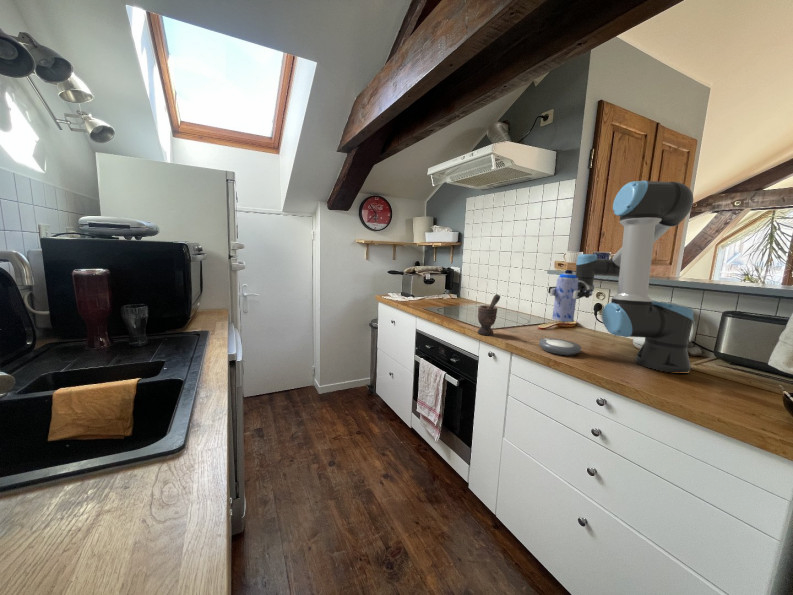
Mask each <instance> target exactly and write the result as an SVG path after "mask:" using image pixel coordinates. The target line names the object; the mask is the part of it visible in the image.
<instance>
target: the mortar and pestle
mask: <svg viewBox="0 0 793 595" xmlns="http://www.w3.org/2000/svg"><path fill="white" fill-rule="evenodd" d="M500 299H501V295H499V294H495V295H494V296H493V297H492V299H491V302H490V304H488V305H486V304H485V305H484V304H483V305H479V306H478V308H477V320H478V323H479V325H480V326H481V327H480V328H478V330H477V332H476V333H477V334H479V335H482V336H494V331H493V329H492V328H491V327H492V326H493V325H495V322H496V320H497V315H498V314H497V313H498V307H496V305H497V304H498V303H499V301H500Z"/></svg>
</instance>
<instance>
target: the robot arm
mask: <svg viewBox="0 0 793 595" xmlns="http://www.w3.org/2000/svg"><path fill="white" fill-rule="evenodd" d="M693 204H694V194H693V192H692V190H691V188H689V186H687V185H686V184H684V183H682V182H678V181H657V180H656V181H655V180H636V181H635V180H634V181H629V182H628V183H626V184H624V185H623V186H622V187H621V188H620V190H619V191H618V192H617V193H616V196H615V198H614V200H613V204H612V211H613V214H614V215H615V216H617V217H619V224H621V226H622V227H623V235H622V244H621V247H620V248H619V249H618V250H617V251H616V252H615V254H614V255H613V256H612V257H611V258H610V259H606V258H598V255H597V254H589V253H588V254H587V253H580V254H578V256H577V259H576V263H575V273H574V275H576V276H577V278H578V280H579V282H578V289H577V291H574V292H573V298H574V299H575V298H576V300H579V299H581V298H587V299H588V298H590V297H592V296H593V292H594V290H595V285H594V280H595V276H603V277H617V278H618V283H617V291H616V294H615V295H613V296H612V297H611V299H610V300H611V301H610V302H609V303H606V304H605V305H604V308H603V309H602V312H601V319H602V324H603V325H604V327H605V328H606V330H607V332H609V334H611V335H613V336H618V337H624V338H629V337H630V338H644V342H643V344H642V346H641V347H640V348H639V350H638V352H637V353H636V355H635V360H634V361H635V363H636V364H638V365H640V366H642V367H644V366H645V367H644V368H647V367H648V369H650V368H652V369H651V370H654V369H656V370H655V371H657V370H662V371H667V372H688V371H690V372H691V366H692V364H691V362H690V356H689V352H688V348H689V346H688V345H689V340H690V336H691V332H692V327H693V323H694V314H695V312H694V310H693V309H692V308H691V307H688V306H684V305H679V304H675V303H674V304H673V303H667V302H663V301H656V300H653V299H651V298H650V296H649V294H648V293H649V284H650V275H651V268H652V267H651V266H652V259H653V249H654V244H655V243H656V241H658V239H660V238H661V237H662V236H663V235H664V234H665V233H667V231H669V230H670V229H671V228H673V227H676V226H678V225H679V224H680V223H681V222H683V221H684V219H686V217H688V214H690V211H691V210H692V208H693ZM555 292H556V286H548V291H547V293H548V294H549V297H550V296H551V297H553V296H554V297H555ZM662 371H661V372H662ZM667 372H666V373H667Z"/></svg>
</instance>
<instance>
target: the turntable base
mask: <svg viewBox="0 0 793 595" xmlns="http://www.w3.org/2000/svg"><path fill="white" fill-rule="evenodd" d="M542 350H543V351H544V352H546V353H548V354H549V353H550V354H552V355H556V356H562V355H566V356H565V357H572V355H574V356H575V355H576V354H577V353H561V352H555V351H551V350H548V349H545V348H543V347H542Z"/></svg>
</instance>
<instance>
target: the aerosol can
mask: <svg viewBox="0 0 793 595" xmlns="http://www.w3.org/2000/svg"><path fill="white" fill-rule="evenodd" d="M578 282H579V280H578V278H577V276H576V275H575V273H573V270H572V269H565V272H563V273H561V274H559V275H558V276H557V278H556V285H555V287H556V292H555V296H554V300H553V309H552V317H551V320H553V321H558V322H563V323H574V322H575V319H574V318H575V310H576V304H577V299H576V298H575V299H574V298H573V292H574V291H577V289H578Z"/></svg>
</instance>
